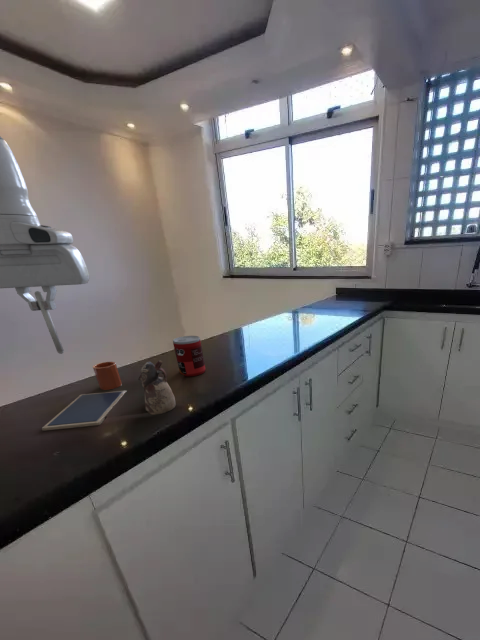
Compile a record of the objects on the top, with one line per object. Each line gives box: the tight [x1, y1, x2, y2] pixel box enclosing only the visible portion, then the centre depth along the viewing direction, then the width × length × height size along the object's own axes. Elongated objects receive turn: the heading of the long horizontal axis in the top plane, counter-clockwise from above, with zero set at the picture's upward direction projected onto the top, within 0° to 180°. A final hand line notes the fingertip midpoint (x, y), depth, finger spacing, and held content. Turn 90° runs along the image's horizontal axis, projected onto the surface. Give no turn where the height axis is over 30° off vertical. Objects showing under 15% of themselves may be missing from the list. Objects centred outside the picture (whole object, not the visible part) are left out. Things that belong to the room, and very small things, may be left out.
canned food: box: [172, 335, 207, 378], centre depth 97 cm, size 8×8×11 cm
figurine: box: [138, 359, 177, 416], centre depth 74 cm, size 7×7×12 cm
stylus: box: [34, 290, 65, 355], centre depth 66 cm, size 1×1×13 cm
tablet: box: [41, 390, 127, 431], centre depth 77 cm, size 12×18×1 cm, turn 8°
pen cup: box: [92, 361, 123, 391], centre depth 89 cm, size 6×6×7 cm
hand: (44, 309), depth 64 cm, fingers closed on stylus, 1 cm apart
